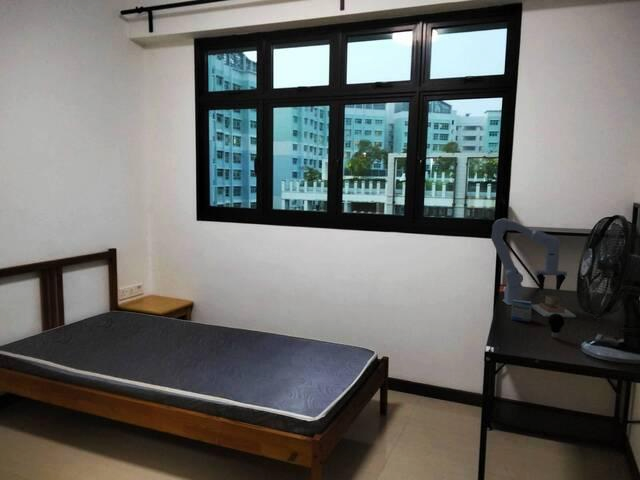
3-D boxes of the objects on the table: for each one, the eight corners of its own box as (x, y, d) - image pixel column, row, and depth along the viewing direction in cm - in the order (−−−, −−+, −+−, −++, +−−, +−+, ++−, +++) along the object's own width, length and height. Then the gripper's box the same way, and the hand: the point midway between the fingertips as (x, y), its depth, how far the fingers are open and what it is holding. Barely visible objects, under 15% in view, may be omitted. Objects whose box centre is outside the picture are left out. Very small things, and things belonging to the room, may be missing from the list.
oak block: (550, 311, 222) (551, 298, 221) (544, 307, 228) (545, 295, 227) (559, 311, 222) (560, 299, 221) (553, 308, 228) (554, 296, 227)
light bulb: (548, 334, 191) (550, 310, 189) (564, 338, 187) (566, 313, 186) (545, 338, 186) (546, 314, 185) (561, 341, 182) (563, 316, 181)
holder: (529, 306, 235) (529, 300, 234) (557, 307, 234) (558, 301, 234) (544, 316, 217) (545, 310, 216) (575, 317, 216) (576, 311, 216)
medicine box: (511, 319, 211) (512, 300, 210) (512, 317, 215) (513, 298, 214) (530, 322, 208) (531, 303, 207) (530, 319, 212) (532, 301, 210)
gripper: (540, 263, 225) (537, 291, 226) (571, 264, 224) (568, 291, 226) (534, 260, 232) (532, 287, 233) (564, 261, 231) (561, 288, 233)
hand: (549, 289), depth 230 cm, fingers open, 7 cm apart
